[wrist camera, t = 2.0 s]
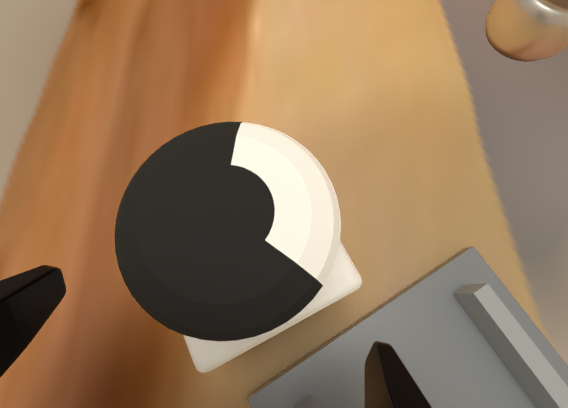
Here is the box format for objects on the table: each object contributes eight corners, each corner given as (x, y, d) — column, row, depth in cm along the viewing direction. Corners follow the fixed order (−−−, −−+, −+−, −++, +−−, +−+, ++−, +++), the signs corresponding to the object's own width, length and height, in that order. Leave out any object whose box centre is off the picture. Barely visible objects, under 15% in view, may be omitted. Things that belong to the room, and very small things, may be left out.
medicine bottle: (229, 347, 17) (128, 447, 6) (185, 239, 19) (41, 153, 8) (335, 289, 18) (428, 276, 7) (283, 192, 20) (286, 54, 9)
